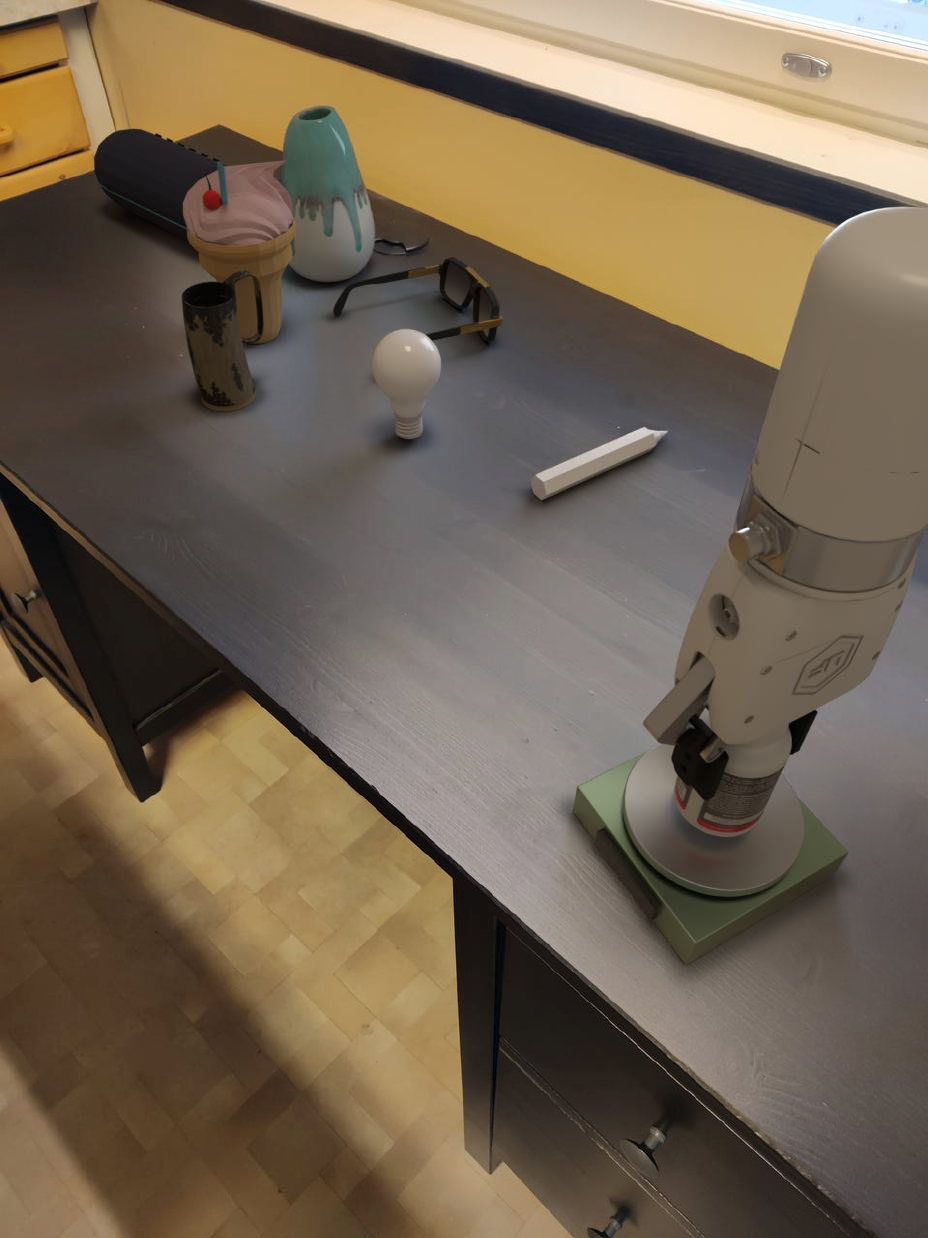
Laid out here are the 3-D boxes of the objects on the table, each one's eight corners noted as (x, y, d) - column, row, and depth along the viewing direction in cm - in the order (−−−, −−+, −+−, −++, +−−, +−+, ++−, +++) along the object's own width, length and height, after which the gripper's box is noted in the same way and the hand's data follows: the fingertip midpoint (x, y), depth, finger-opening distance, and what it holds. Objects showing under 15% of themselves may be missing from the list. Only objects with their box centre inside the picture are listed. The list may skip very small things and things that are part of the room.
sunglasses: (333, 316, 106) (329, 274, 102) (453, 289, 110) (454, 248, 107) (380, 378, 97) (378, 334, 93) (509, 345, 102) (511, 303, 98)
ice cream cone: (318, 350, 101) (296, 157, 86) (216, 367, 98) (176, 171, 84) (296, 302, 108) (272, 116, 93) (201, 317, 105) (161, 128, 91)
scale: (712, 739, 66) (721, 714, 64) (834, 875, 59) (849, 852, 57) (566, 813, 62) (570, 789, 59) (679, 969, 55) (689, 948, 52)
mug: (214, 418, 92) (189, 305, 83) (190, 392, 95) (164, 281, 86) (285, 392, 95) (269, 281, 86) (260, 368, 98) (241, 258, 89)
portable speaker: (278, 246, 117) (267, 163, 110) (215, 273, 112) (199, 189, 105) (159, 189, 129) (141, 111, 121) (96, 212, 123) (74, 132, 116)
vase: (263, 281, 111) (239, 120, 98) (311, 241, 118) (294, 86, 105) (350, 300, 108) (336, 137, 95) (393, 258, 115) (386, 101, 102)
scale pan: (721, 718, 63) (724, 711, 62) (839, 845, 56) (843, 839, 56) (588, 785, 59) (589, 778, 59) (698, 929, 53) (700, 923, 52)
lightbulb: (411, 409, 93) (407, 308, 85) (455, 436, 90) (456, 334, 82) (362, 435, 90) (354, 332, 82) (406, 464, 87) (402, 361, 79)
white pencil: (666, 445, 91) (538, 503, 84) (655, 427, 91) (527, 483, 85) (680, 432, 88) (550, 491, 82) (669, 414, 89) (538, 470, 82)
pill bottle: (778, 802, 57) (826, 703, 50) (728, 857, 54) (770, 761, 47) (706, 749, 59) (741, 648, 52) (654, 799, 57) (684, 700, 50)
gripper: (733, 645, 35) (654, 876, 48) (1034, 505, 41) (890, 745, 54) (616, 529, 39) (573, 770, 53) (902, 417, 45) (799, 659, 58)
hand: (735, 755), depth 53 cm, fingers closed on pill bottle, 5 cm apart
